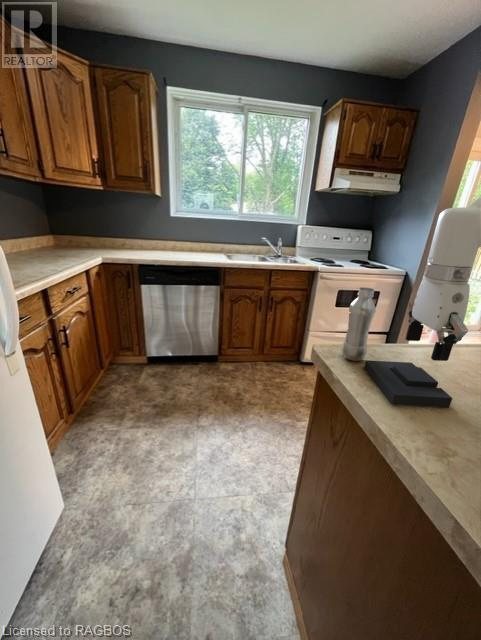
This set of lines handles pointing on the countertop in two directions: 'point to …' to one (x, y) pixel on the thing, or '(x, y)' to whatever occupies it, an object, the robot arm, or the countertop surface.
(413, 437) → the countertop surface
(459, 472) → the countertop surface
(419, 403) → the notched tile
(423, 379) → the black pad
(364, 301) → the plastic bottle
